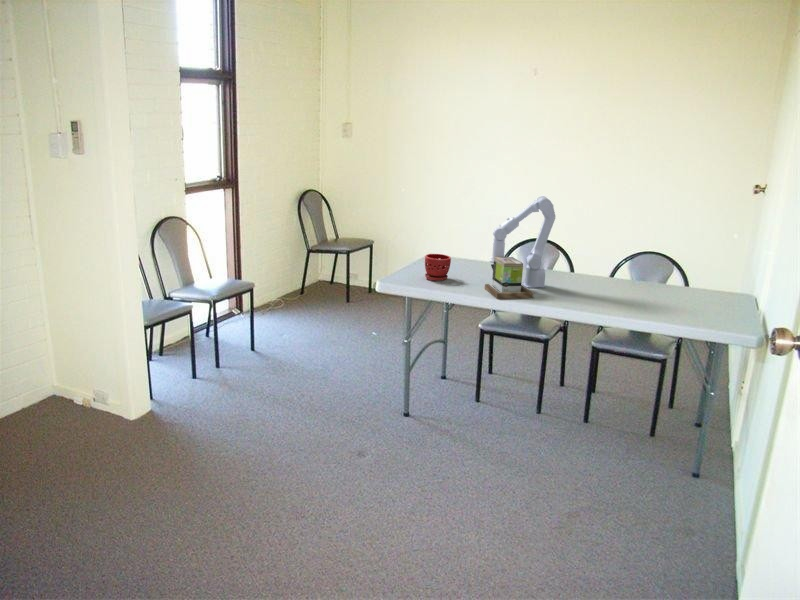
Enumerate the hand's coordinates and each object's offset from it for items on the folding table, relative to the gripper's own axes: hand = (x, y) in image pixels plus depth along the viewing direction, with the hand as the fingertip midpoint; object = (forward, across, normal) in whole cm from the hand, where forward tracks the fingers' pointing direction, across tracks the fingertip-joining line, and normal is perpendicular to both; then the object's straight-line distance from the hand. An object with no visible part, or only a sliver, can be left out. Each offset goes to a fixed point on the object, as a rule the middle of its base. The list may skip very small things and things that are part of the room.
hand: (496, 278), depth 335 cm
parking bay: (+3, +16, 0) cm, 17 cm away
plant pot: (+3, -14, -27) cm, 30 cm away
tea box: (+3, +10, +2) cm, 10 cm away
